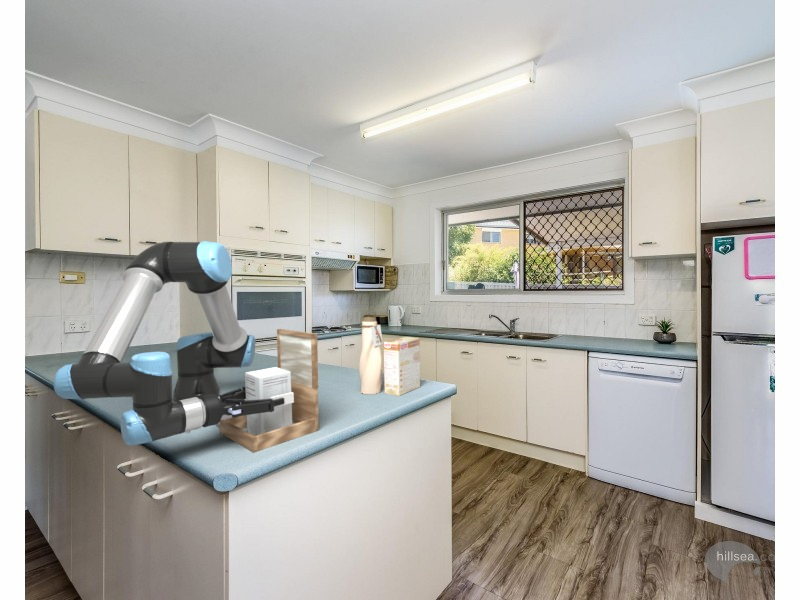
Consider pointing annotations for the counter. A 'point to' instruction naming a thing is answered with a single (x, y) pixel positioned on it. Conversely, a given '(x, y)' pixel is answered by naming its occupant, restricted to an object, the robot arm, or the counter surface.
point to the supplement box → (264, 387)
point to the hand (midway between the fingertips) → (281, 393)
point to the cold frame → (302, 362)
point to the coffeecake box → (401, 365)
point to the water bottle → (371, 357)
